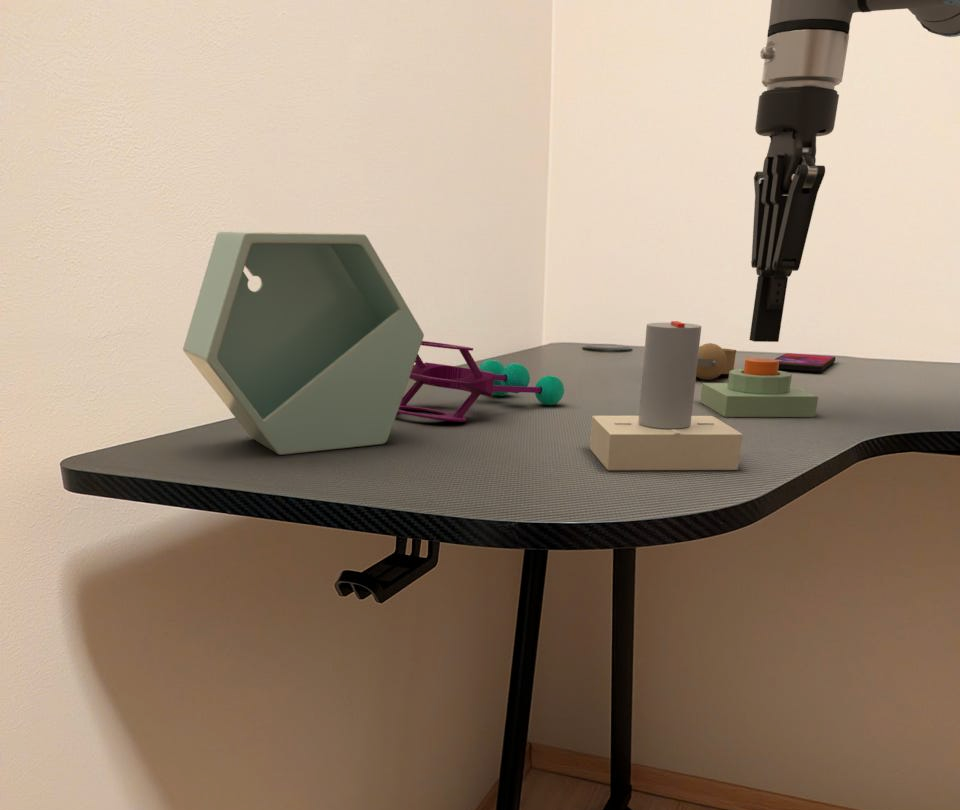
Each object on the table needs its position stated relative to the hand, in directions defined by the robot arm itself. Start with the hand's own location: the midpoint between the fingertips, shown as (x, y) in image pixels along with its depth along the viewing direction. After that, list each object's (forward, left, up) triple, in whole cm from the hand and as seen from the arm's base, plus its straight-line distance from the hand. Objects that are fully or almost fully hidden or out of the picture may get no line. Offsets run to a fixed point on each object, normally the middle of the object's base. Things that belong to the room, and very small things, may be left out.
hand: (763, 340), depth 99 cm
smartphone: (-20, -36, -7) cm, 42 cm away
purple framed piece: (+32, 0, -8) cm, 33 cm away
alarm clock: (0, -26, -8) cm, 27 cm away
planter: (+48, +17, -8) cm, 51 cm away
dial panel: (+17, +24, -7) cm, 30 cm away
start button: (0, 0, -4) cm, 4 cm away
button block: (0, 0, -7) cm, 7 cm away
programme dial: (+17, +24, -4) cm, 30 cm away
